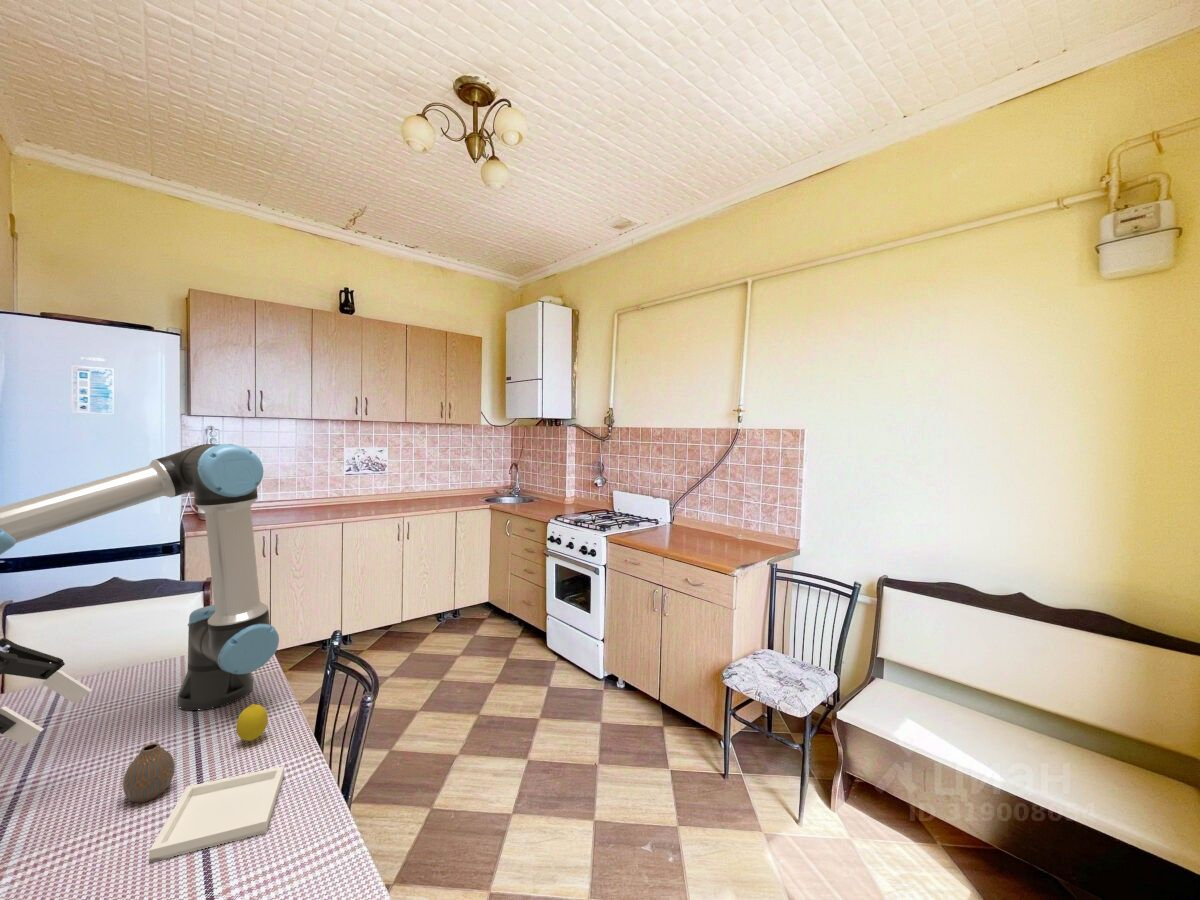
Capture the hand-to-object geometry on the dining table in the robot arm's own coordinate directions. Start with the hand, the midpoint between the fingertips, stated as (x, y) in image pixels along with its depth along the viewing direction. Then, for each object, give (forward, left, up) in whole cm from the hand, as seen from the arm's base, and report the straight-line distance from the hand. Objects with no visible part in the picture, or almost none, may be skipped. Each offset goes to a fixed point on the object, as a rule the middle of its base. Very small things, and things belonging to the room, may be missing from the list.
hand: (61, 715), depth 82 cm
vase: (0, +12, -17) cm, 21 cm away
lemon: (-12, +25, -17) cm, 33 cm away
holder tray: (+11, +26, -17) cm, 33 cm away
